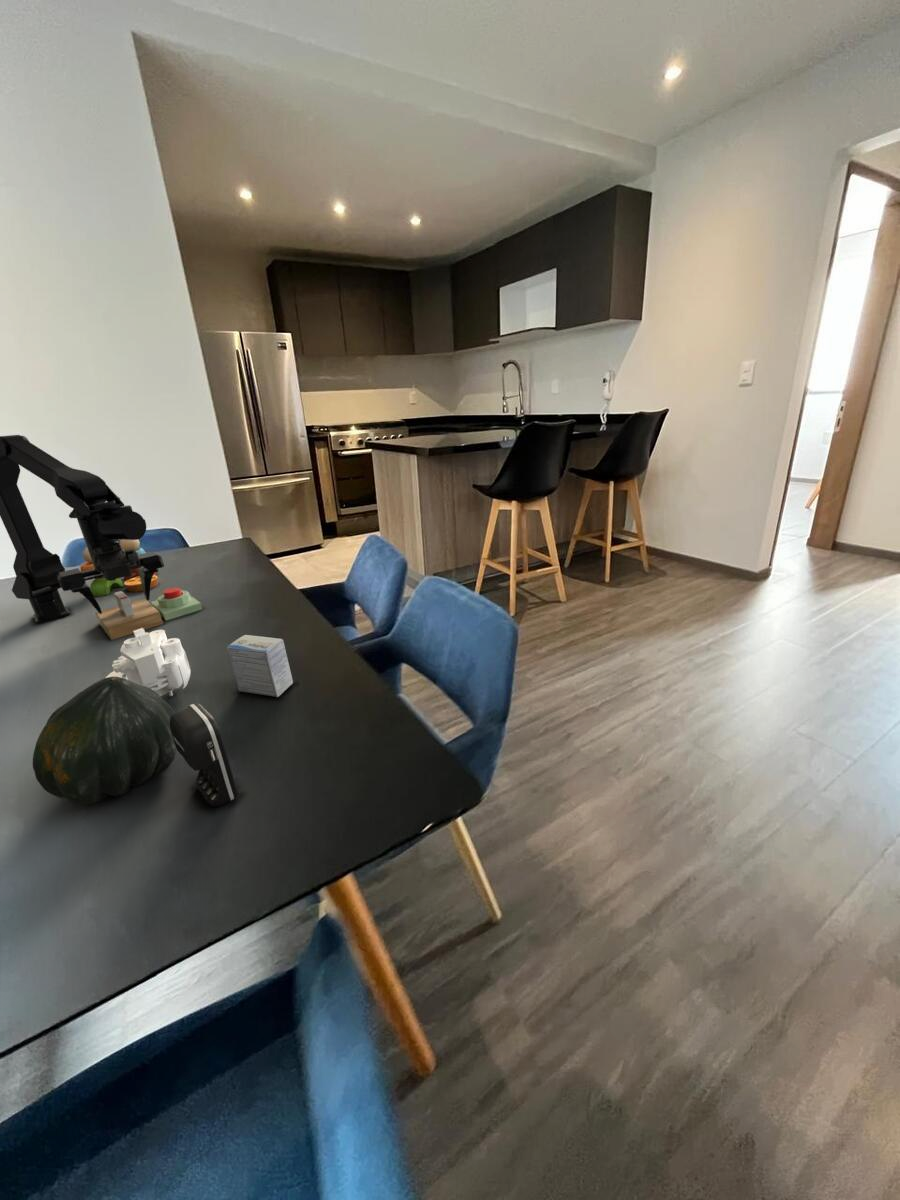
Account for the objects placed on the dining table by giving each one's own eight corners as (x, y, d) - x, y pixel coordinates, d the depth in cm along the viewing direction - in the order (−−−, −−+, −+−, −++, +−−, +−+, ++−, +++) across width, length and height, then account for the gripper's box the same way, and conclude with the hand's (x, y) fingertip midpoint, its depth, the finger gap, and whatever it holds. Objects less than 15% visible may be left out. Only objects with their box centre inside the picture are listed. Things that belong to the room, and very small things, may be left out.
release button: (163, 597, 116) (161, 590, 115) (179, 593, 118) (177, 586, 118) (167, 601, 114) (165, 594, 113) (184, 596, 116) (182, 589, 115)
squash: (-3, 764, 59) (14, 697, 52) (116, 699, 72) (143, 639, 65) (79, 847, 59) (107, 792, 51) (184, 767, 72) (219, 714, 64)
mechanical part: (120, 692, 83) (96, 630, 79) (197, 674, 88) (179, 614, 83) (106, 729, 74) (79, 660, 69) (194, 707, 78) (173, 641, 73)
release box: (152, 608, 118) (148, 595, 117) (187, 598, 123) (183, 585, 122) (166, 620, 111) (161, 606, 110) (202, 609, 116) (198, 595, 115)
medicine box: (294, 684, 83) (284, 638, 79) (277, 698, 79) (266, 651, 75) (255, 678, 85) (244, 633, 82) (237, 692, 81) (225, 646, 78)
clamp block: (98, 625, 111) (93, 612, 110) (150, 609, 118) (146, 597, 117) (109, 640, 103) (104, 627, 102) (164, 623, 110) (160, 610, 108)
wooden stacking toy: (146, 593, 128) (131, 547, 124) (82, 597, 129) (65, 551, 124) (181, 570, 145) (169, 529, 140) (125, 573, 146) (111, 533, 141)
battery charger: (187, 787, 61) (161, 711, 57) (218, 770, 64) (195, 696, 59) (208, 816, 57) (181, 736, 52) (241, 798, 59) (217, 719, 55)
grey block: (119, 609, 111) (113, 592, 109) (127, 607, 112) (121, 589, 110) (126, 617, 106) (120, 599, 105) (134, 614, 107) (128, 596, 106)
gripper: (52, 556, 91) (81, 631, 97) (160, 534, 103) (181, 602, 109) (44, 546, 99) (72, 616, 105) (146, 526, 111) (166, 590, 117)
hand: (124, 606), depth 109 cm, fingers open, 9 cm apart
